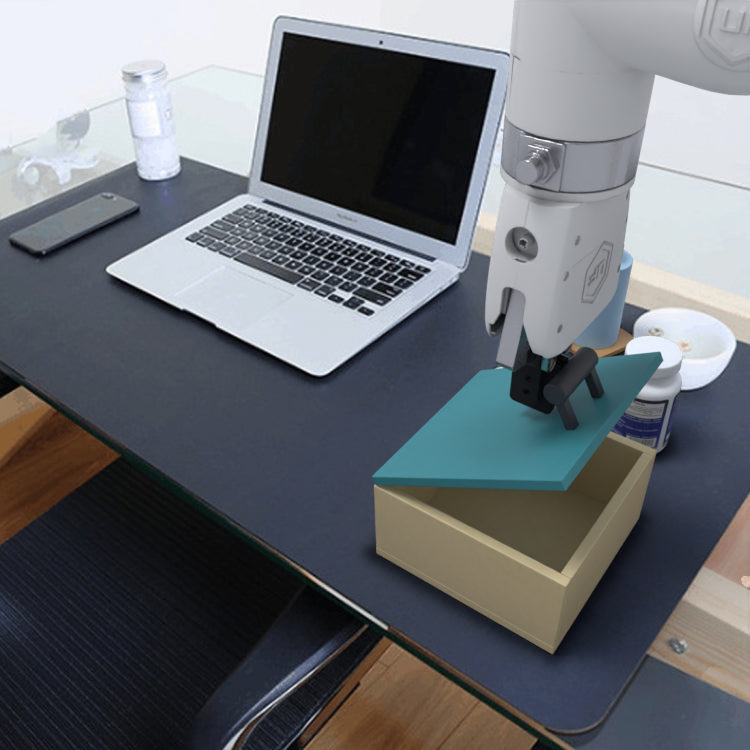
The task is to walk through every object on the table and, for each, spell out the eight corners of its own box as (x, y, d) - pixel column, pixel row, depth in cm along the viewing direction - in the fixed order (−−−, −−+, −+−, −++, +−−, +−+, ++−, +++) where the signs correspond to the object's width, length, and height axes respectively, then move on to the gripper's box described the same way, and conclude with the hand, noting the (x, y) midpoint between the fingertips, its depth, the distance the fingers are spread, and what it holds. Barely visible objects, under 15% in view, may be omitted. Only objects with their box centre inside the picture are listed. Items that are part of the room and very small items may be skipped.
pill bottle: (631, 409, 77) (651, 324, 71) (680, 441, 73) (705, 355, 67) (589, 432, 74) (605, 346, 68) (637, 467, 71) (659, 380, 64)
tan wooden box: (638, 518, 66) (657, 450, 61) (552, 655, 56) (566, 586, 51) (476, 444, 73) (481, 378, 69) (375, 553, 64) (373, 485, 59)
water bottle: (628, 339, 85) (647, 246, 78) (590, 355, 83) (606, 262, 76) (593, 315, 88) (608, 225, 82) (555, 330, 86) (568, 239, 80)
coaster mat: (638, 344, 85) (639, 340, 85) (589, 366, 82) (590, 361, 82) (592, 314, 90) (593, 309, 89) (544, 333, 87) (545, 328, 87)
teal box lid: (664, 360, 57) (644, 306, 55) (565, 491, 47) (539, 429, 46) (483, 378, 68) (464, 333, 67) (375, 485, 59) (350, 435, 57)
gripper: (571, 218, 38) (531, 487, 49) (684, 121, 47) (629, 366, 58) (439, 180, 41) (430, 438, 53) (568, 97, 51) (537, 332, 62)
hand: (535, 400), depth 56 cm, fingers closed
